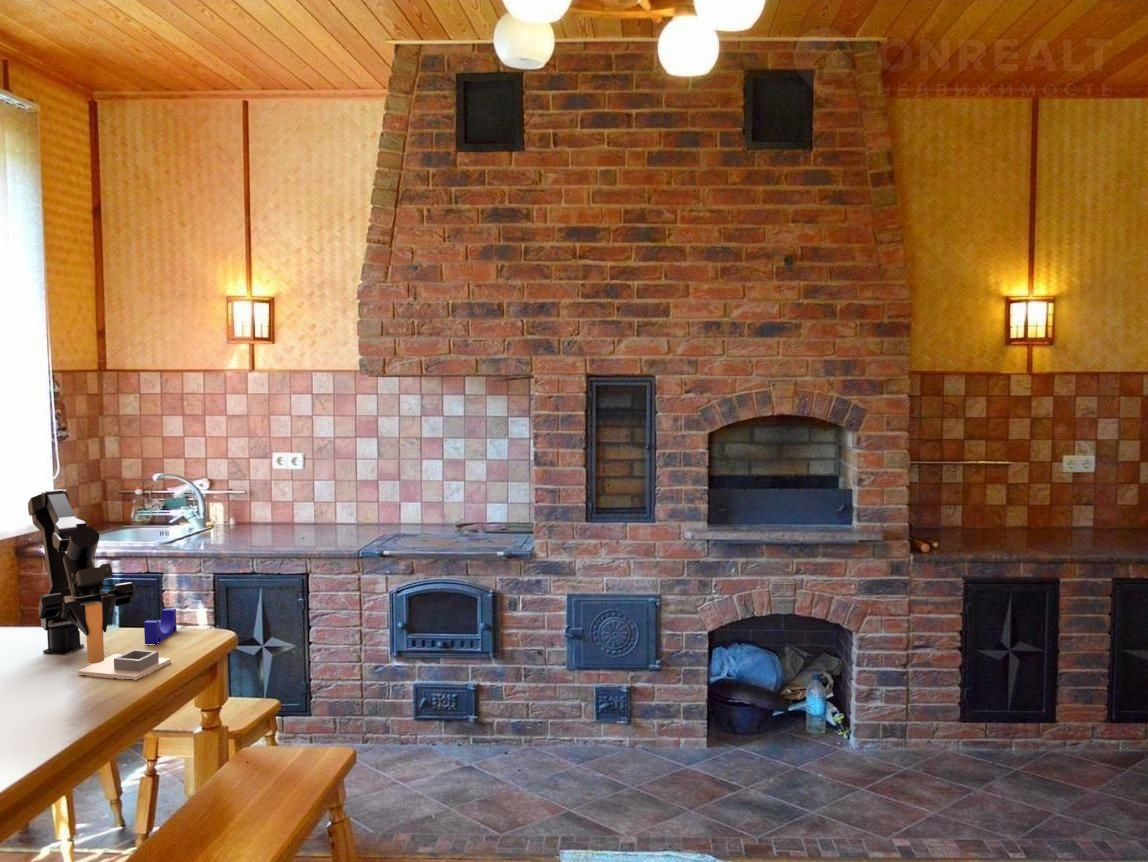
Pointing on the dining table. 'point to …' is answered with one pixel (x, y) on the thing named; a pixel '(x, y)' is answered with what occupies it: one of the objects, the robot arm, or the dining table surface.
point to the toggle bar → (94, 633)
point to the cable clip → (160, 627)
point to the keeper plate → (126, 665)
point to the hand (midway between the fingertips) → (96, 632)
